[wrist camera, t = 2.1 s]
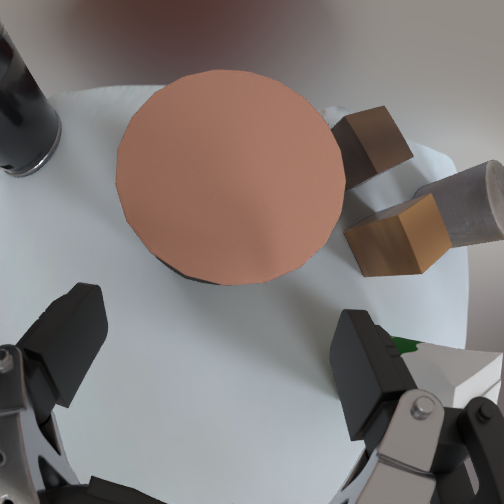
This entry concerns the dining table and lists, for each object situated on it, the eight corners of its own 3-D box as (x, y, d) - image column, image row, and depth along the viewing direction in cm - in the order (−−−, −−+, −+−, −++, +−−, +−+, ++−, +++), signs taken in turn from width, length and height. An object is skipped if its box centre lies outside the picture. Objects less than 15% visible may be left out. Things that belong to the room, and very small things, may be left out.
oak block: (342, 231, 33) (397, 214, 24) (376, 212, 35) (431, 192, 25) (363, 277, 33) (422, 274, 24) (395, 254, 35) (452, 245, 25)
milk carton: (333, 409, 31) (450, 488, 12) (330, 341, 32) (474, 388, 12) (389, 387, 33) (508, 434, 14) (388, 324, 34) (525, 343, 14)
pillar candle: (456, 216, 39) (529, 197, 24) (439, 263, 37) (522, 255, 22) (423, 173, 38) (498, 139, 23) (401, 219, 36) (490, 193, 21)
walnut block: (303, 156, 33) (344, 115, 23) (339, 142, 35) (384, 105, 25) (327, 201, 33) (377, 174, 24) (362, 183, 35) (414, 156, 25)
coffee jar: (253, 286, 30) (344, 293, 13) (148, 277, 28) (95, 272, 10) (260, 186, 31) (342, 94, 14) (161, 174, 29) (145, 58, 12)
